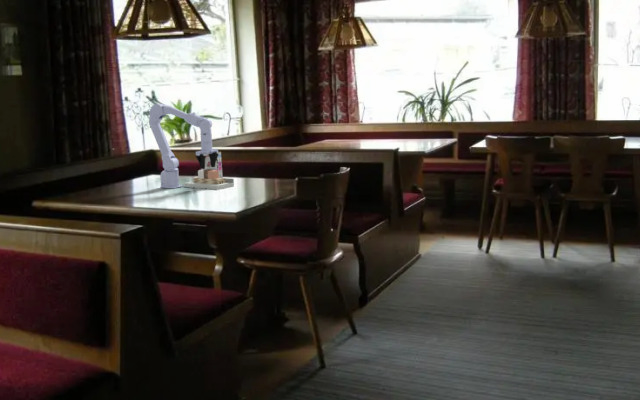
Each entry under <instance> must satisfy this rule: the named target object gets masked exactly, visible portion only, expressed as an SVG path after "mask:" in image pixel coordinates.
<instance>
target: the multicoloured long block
mask: <svg viewBox="0 0 640 400" xmlns="http://www.w3.org/2000/svg"><path fill="white" fill-rule="evenodd" d="M211 170H213V169H206V170H203V171H204V178H198V176H196V177H192V182H193V183H206V184H222V183H225V178H226V177H223V178H217V179H208V171H211Z"/></svg>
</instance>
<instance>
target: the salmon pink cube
mask: <svg viewBox="0 0 640 400" xmlns="http://www.w3.org/2000/svg"><path fill="white" fill-rule="evenodd" d="M217 178H219V171H218V170H211V171H208V179H217Z"/></svg>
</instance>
